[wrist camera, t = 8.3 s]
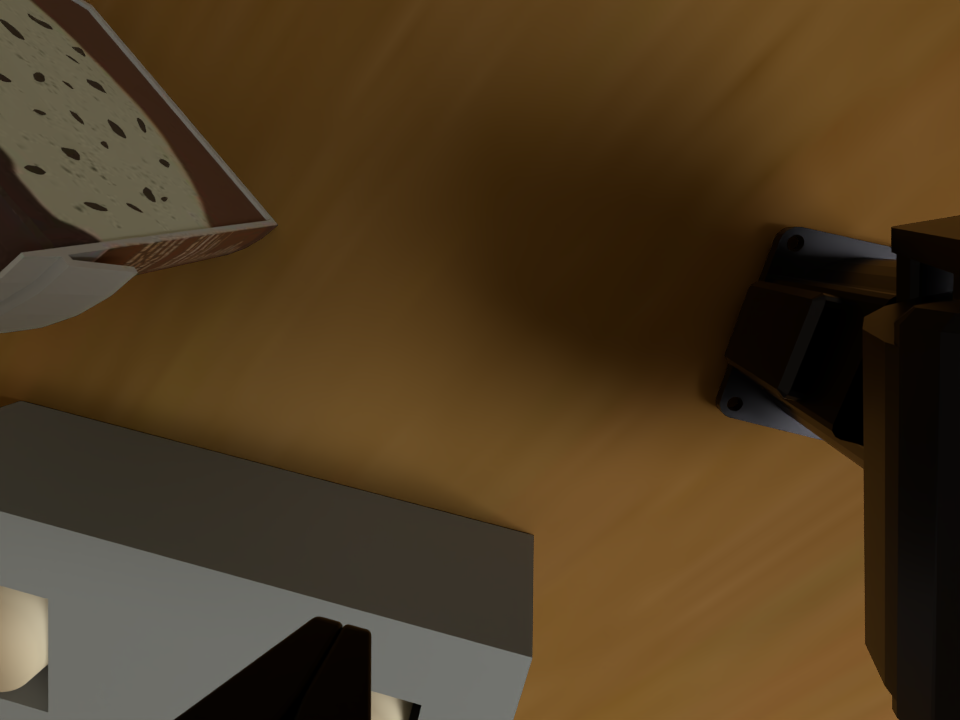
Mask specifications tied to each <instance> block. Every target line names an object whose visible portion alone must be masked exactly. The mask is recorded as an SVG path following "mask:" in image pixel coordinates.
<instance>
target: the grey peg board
mask: <svg viewBox="0 0 960 720" xmlns="http://www.w3.org/2000/svg"><path fill="white" fill-rule="evenodd" d="M533 550H534V535H530V534H526V533H523V532H519V531H515V530H511V529H507V528H503V527H500V526H496V525H492V524H488V523H484V522H481V521H477V520H473V519H469V518H465V517H462V516H458V515H454V514H450V513H446V512H443V511H439V510H435V509H431V508H427V507H424V506H420V505H416V504H412V503H408V502H404V501H401V500H397V499H393V498H389V497H385V496H382V495H378V494H374V493H370V492H366V491H363V490H359V489H355V488H351V487H347V486H344V485H340V484H336V483H332V482H328V481H324V480H321V479H317V478H313V477H309V476H305V475H302V474H298V473H294V472H290V471H286V470H283V469H279V468H275V467H271V466H267V465H264V464H260V463H256V462H252V461H248V460H245V459H241V458H237V457H233V456H229V455H225V454H222V453H218V452H214V451H210V450H206V449H203V448H199V447H195V446H191V445H187V444H184V443H180V442H176V441H172V440H168V439H165V438H161V437H157V436H153V435H149V434H145V433H142V432H138V431H134V430H130V429H126V428H123V427H119V426H115V425H111V424H107V423H104V422H100V421H96V420H92V419H88V418H85V417H81V416H77V415H73V414H69V413H66V412H62V411H58V410H54V409H50V408H46V407H43V406H39V405H35V404H31V403H27V402H24V401H19V402H16V403H13V404H10V405H7V406H3V407H0V586H3V587H7V588H10V589H14V590H17V591H21V592H24V593H28V594H32V595H35V596H39V597H42V598H46V599H48V665H46V666H45V667H44V668H43V669H42V670H41V671H40V672H38V673H37V674H36V675H35V676H34V677H33V678H32V679H30V680H29V681H28V682H27V683H26V684H25V685H23V686H22V687H20V688H18V689H15V690H12V691H7V692H0V720H174V719H175V718H177V717H178V716H180V715H181V714H182V713H184V712H185V711H186V710H188V709H189V708H190V707H192V706H193V705H195V704H196V703H197V702H199V701H200V700H201V699H203V698H204V697H205V696H207V695H208V694H210V693H211V692H212V691H214V690H215V689H216V688H218V687H219V686H221V685H222V684H223V683H225V682H226V681H227V680H229V679H230V678H231V677H233V676H234V675H236V674H237V673H238V672H240V671H241V670H242V669H244V668H245V667H247V666H248V665H249V664H251V663H252V662H253V661H255V660H256V659H257V658H259V657H260V656H262V655H263V654H264V653H266V652H267V651H268V650H270V649H271V648H273V647H274V646H275V645H277V644H278V643H279V642H281V641H282V640H283V639H285V638H286V637H288V636H289V635H290V634H292V633H293V632H294V631H296V630H297V629H299V628H300V627H301V626H303V625H304V624H305V623H307V622H308V621H309V620H311V619H312V618H314V617H317V616H321V617H325V618H328V619H332V620H336V621H339V622H341V624H342V625H343V626H345V625H347V624H350V625H354V626H357V627H361V628H364V629H368V630H369V631H370V632H371V637H372V644H371V691H373V692H377V693H380V694H384V695H387V696H391V697H394V698H398V699H401V700H405V701H408V702H412V703H413V706H412V710H411V713H410V717H409V720H513V719H514V715H515V712H516V709H517V706H518V702H519V699H520V696H521V693H522V689H523V686H524V683H525V680H526V676H527V673H528V670H529V667H530V664H531V660H532V637H533Z"/></svg>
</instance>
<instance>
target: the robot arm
mask: <svg viewBox="0 0 960 720" xmlns="http://www.w3.org/2000/svg"><path fill="white" fill-rule="evenodd" d="M793 235H794V236H795V237H797V239H798V245H797V247H796V248H795V249H794V250H792V251H791V250H789V249H788V247H787V241H788V240H789V238H790V237H792V236H793ZM725 357H726V359H727V360H728V362H729V364H728V367H727V369H726V372H725V375H724V378H723V380H722V383H721V386H720V389H719V391H718V394H717V397H716V405H717V408H718V409H719V410H720V411H721V412H722V413H723V414H724V415H726V416H728V417H730V418H734V419H738V420H743V421H747V422H751V423H755V424H759V425H763V426H767V427H771V428H775V429H779V430H783V431H787V432H792V433H796V434H800V435H804V436H808V437H812V438H816V439H820V440H824V441H825V442H827V443H828V444H830V445H831V446H832V447H834V448H835V449H837V450H838V451H839V452H841V453H842V454H844V455H845V456H846V457H848V458H849V459H851V460H852V461H853V462H855V463H856V464H858V465H859V466H860V467H862V468H863V469H864V555H865V644H866V646H867V649H868V651H869V653H870V655H871V657H872V659H873V661H874V664H875V666H876V668H877V670H878V672H879V674H880V676H881V679H882V681H883V683H884V685H885V687H886V688H887V689H888V691H889V692H890V693H891V695H892V709H893V711H894V713H895V715H896V717H897V718H898V719H899V720H960V215H959V216H953V217H947V218H941V219H935V220H929V221H923V222H917V223H911V224H905V225H899V226H894V227H891V247H888V246H884V245H879V244H875V243H870V242H866V241H861V240H857V239H852V238H848V237H844V236H839V235H835V234H830V233H826V232H821V231H817V230H812V229H808V228H803V227H788V228H785V229H783V230H781V231H780V232H779V233H778V234H777V235H776V237H775V239H774V241H773V244H772V246H771V249H770V252H769V255H768V257H767V260H766V263H765V266H764V268H763V271H762V274H761V276H760V279H759V281H757V282H756V283H754V284H752V285H751V286H750V287H749V289H748V292H747V295H746V297H745V300H744V303H743V306H742V308H741V311H740V314H739V317H738V319H737V322H736V325H735V328H734V331H733V333H732V336H731V339H730V342H729V344H728V347H727V350H726V353H725ZM733 397H738V403H737V404H736V406H734V407H727V402H728V401H729V399H731V398H733ZM371 644H372V637H371V632H370V631H369V630H368V629H364V628H361V627H357V626H354V625H350V624H347V625H345V626H343V625H342V624H341V622H339V621H336V620H332V619H328V618H325V617H321V616H317V617H314V618H312V619H311V620H309V621H308V622H307V623H305V624H304V625H303V626H301V627H300V628H299V629H297V630H296V631H294V632H293V633H292V634H290V635H289V636H288V637H286V638H285V639H283V640H282V641H281V642H279V643H278V644H277V645H275V646H274V647H273V648H271V649H270V650H268V651H267V652H266V653H264V654H263V655H262V656H260V657H259V658H257V659H256V660H255V661H253V662H252V663H251V664H249V665H248V666H247V667H245V668H244V669H242V670H241V671H240V672H238V673H237V674H236V675H234V676H233V677H231V678H230V679H229V680H227V681H226V682H225V683H223V684H222V685H221V686H219V687H218V688H216V689H215V690H214V691H212V692H211V693H210V694H208V695H207V696H205V697H204V698H203V699H201V700H200V701H199V702H197V703H196V704H195V705H193V706H192V707H190V708H189V709H188V710H186V711H185V712H184V713H182V714H181V715H180V716H178V717H177V718H175V719H174V720H371Z"/></svg>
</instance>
